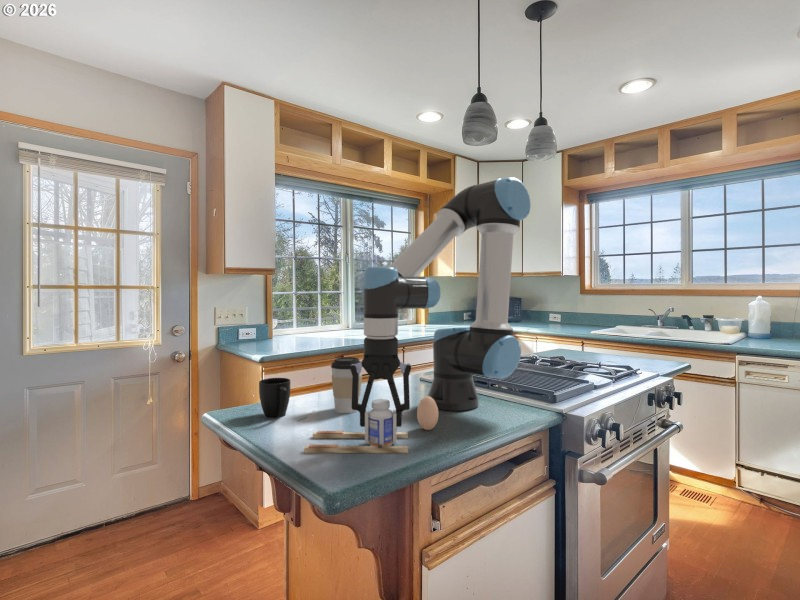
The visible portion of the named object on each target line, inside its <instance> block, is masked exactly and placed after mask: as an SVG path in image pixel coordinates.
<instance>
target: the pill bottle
mask: <svg viewBox="0 0 800 600" xmlns="http://www.w3.org/2000/svg"><path fill="white" fill-rule="evenodd" d="M390 403H391V402H390V400H389V399H386V398H376V399H372V401H371V410H369V442H368V444H369V446H378V445H382V446H393V444H394V443H393V410H392V409H390V407H391V404H390Z"/></svg>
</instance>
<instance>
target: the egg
mask: <svg viewBox="0 0 800 600" xmlns="http://www.w3.org/2000/svg"><path fill="white" fill-rule="evenodd" d="M416 418H417V422H418V424H419V426H420V427H421V429H424V430H426V431H430V430H432V429H433V428H434V427H435V426H436V425H437V423H438V420H439V409H438V407H437V405H436V402H435V401H434V399H433V398H431V397H430V396H428V395H427V396H424V397H423V398H421V400H420V402H419V404H418V406H417V410H416Z"/></svg>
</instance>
